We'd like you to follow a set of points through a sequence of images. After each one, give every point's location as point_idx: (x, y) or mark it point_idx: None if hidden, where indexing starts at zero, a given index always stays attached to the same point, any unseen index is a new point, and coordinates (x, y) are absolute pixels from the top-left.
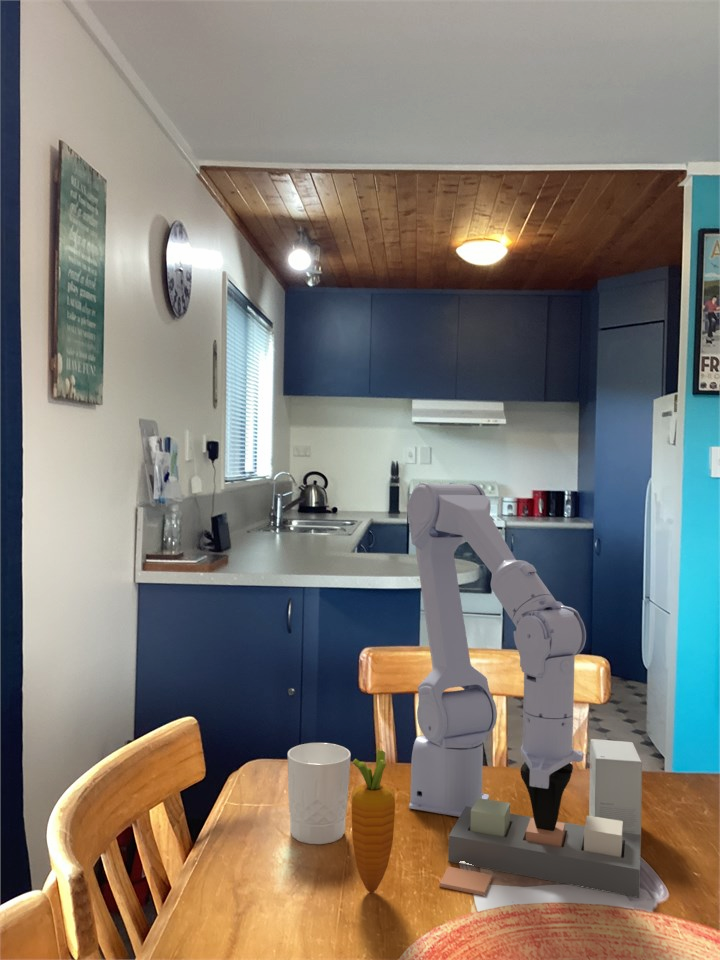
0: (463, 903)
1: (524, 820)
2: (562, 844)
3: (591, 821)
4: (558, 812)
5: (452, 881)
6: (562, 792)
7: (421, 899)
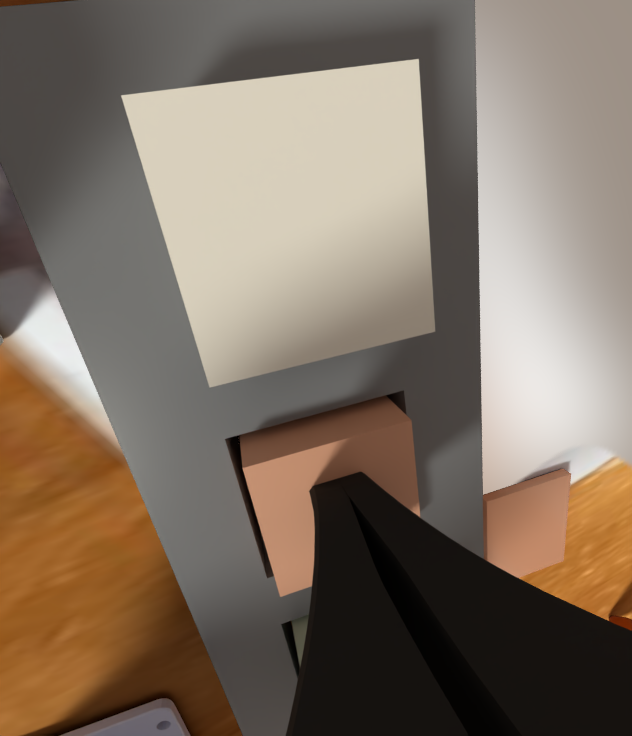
0: (602, 486)
1: (241, 603)
2: (331, 410)
3: (292, 330)
4: (375, 521)
5: (548, 546)
6: (617, 626)
7: (609, 549)
